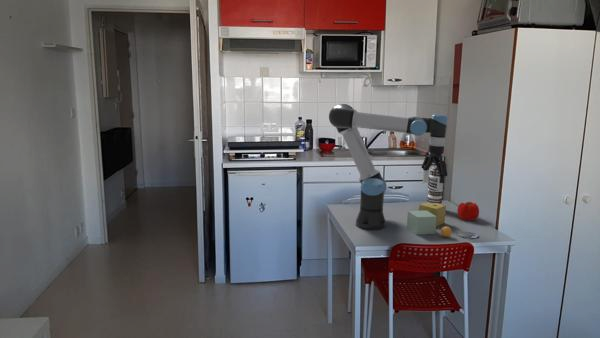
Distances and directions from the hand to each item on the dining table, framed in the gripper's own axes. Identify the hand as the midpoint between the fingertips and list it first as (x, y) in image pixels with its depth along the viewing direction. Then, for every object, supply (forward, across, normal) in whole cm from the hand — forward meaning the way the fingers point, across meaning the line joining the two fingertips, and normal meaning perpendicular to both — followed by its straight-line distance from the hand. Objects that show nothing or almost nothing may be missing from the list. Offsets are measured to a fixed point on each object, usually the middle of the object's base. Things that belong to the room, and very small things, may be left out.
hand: (432, 185), depth 234 cm
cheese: (+21, 0, -2) cm, 21 cm away
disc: (+20, -21, -9) cm, 30 cm away
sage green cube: (+20, -10, +10) cm, 25 cm away
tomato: (+20, +2, -25) cm, 32 cm away
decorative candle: (+20, +22, -17) cm, 35 cm away
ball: (+18, -20, +3) cm, 27 cm away
